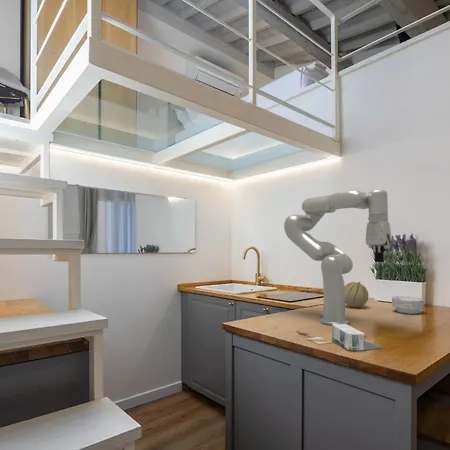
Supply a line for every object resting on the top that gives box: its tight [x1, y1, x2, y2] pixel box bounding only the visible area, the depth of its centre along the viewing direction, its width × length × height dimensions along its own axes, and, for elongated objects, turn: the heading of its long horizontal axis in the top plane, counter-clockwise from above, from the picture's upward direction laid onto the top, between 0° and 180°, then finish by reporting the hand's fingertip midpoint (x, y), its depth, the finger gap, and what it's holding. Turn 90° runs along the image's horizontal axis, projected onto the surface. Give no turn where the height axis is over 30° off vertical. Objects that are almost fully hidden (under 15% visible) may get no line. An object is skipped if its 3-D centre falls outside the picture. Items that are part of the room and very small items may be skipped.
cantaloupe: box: [344, 281, 369, 309], centre depth 200 cm, size 15×15×15 cm
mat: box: [330, 340, 383, 353], centre depth 125 cm, size 13×12×1 cm
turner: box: [296, 330, 333, 346], centre depth 134 cm, size 18×6×1 cm, turn 21°
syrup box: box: [331, 324, 365, 351], centre depth 125 cm, size 6×6×14 cm
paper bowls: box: [391, 295, 425, 315], centre depth 185 cm, size 15×15×8 cm
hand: (379, 261), depth 146 cm, fingers closed
